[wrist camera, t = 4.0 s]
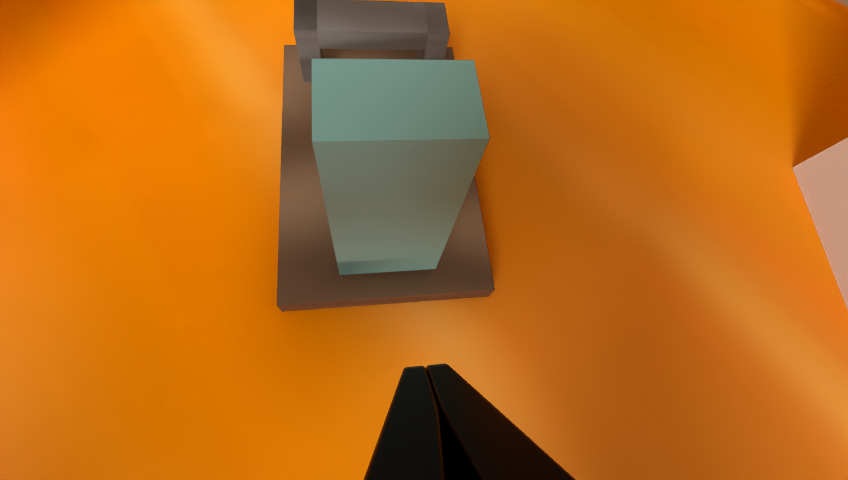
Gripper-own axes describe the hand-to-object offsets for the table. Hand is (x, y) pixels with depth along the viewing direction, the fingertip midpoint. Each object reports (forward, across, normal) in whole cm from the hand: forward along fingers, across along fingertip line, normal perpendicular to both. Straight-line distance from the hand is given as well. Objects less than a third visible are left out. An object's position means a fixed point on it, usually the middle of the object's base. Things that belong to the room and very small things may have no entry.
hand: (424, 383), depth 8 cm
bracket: (+15, 0, -1) cm, 15 cm away
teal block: (+13, 0, -1) cm, 13 cm away
